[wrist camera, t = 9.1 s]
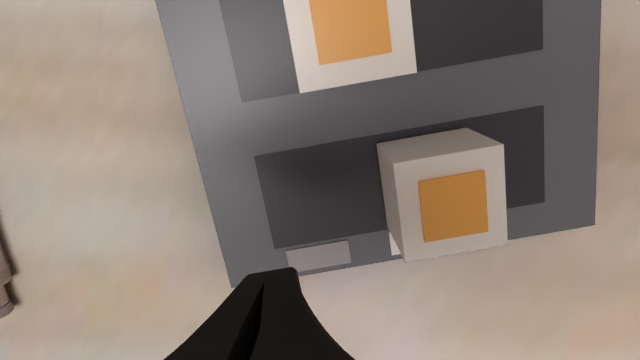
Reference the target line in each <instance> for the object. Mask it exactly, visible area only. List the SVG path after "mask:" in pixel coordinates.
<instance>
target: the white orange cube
mask: <svg viewBox="0 0 640 360" xmlns="http://www.w3.org/2000/svg"><path fill="white" fill-rule="evenodd" d="M283 3H284V8H285V14H286V19H287V25H288V30H289V36H290V41H291V47H292V53H293V58H294V64H295V69H296V75H297V80H298V86H299V91H300V93H305V92H311V91H316V90H322V89H328V88H333V87H339V86H345V85H350V84H356V83H362V82H367V81H373V80H379V79H384V78H390V77H395V76H401V75H407V74H412V73H417V67H416V57H415V46H414V36H413V26H412V16H411V6H410V0H283Z"/></svg>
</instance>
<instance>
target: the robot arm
mask: <svg viewBox="0 0 640 360" xmlns="http://www.w3.org/2000/svg"><path fill="white" fill-rule="evenodd" d="M164 360H355V359H354V358H353V357H351V356H350V355H349V354H348V353H347V352H346V351H344V350H343V349H342V348H341V347H340V346H339V344H338V343H337V342H336V341H335V340H334V339H333V338H332V337H331V336H330V335H329V334H328V332H327V331H326V330H325V329H324V328H323V326H322V325H321V324H320V322H319V321H318V319H317V318H316V316H315V315H314V314H313V312H312V310H311V309H310V307H309V306H308V304H307V302H306V300H305V298H304V296H303V294H302V292H301V288H300V283H299V278H298V273H297V270H296V269H295V268H293V267H287V268H282V269H276V270H270V271H264V272H258V273H252V274H248V275H247V276H246V277H245V278H244V279H243V280H242V281H241V282H240V283H239V285H238V286H237V287H236V288H235V289H234V290H233V292H232V293H231V294H230V295H229V296H228V297H227V298H226V300H225V301H224V302H223V303H222V304H221V305H220V306H219V307H218V308H217V310H216V311H215V312H214V313H213V314H212V315H211V316H210V317H209V318H208V319H207V320H206V321H205V322H204V323H203V324H202V325H201V326H200V327H199V328H198V329H197V330H196V331H195V332H194V333H193V334H192V335H191V336H190V337H189V338H188V339H187V340H186V341H185V342H184V343H183V344H182V345H180V346H179V347H178V348H177V349H176V350H175V351H174V352H172V353H171V354H170V355H169V356H167V357H166V358H165V359H164Z"/></svg>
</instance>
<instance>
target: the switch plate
mask: <svg viewBox="0 0 640 360" xmlns="http://www.w3.org/2000/svg"><path fill="white" fill-rule="evenodd" d="M155 2H156V6H157V9H158V13H159V17H160V21H161V24H162V28H163V32H164V36H165V39H166V43H167V47H168V51H169V54H170V58H171V62H172V66H173V69H174V73H175V77H176V81H177V85H178V88H179V92H180V96H181V100H182V103H183V107H184V111H185V115H186V118H187V122H188V126H189V130H190V133H191V137H192V141H193V145H194V149H195V152H196V156H197V160H198V164H199V167H200V171H201V175H202V179H203V182H204V186H205V190H206V194H207V197H208V201H209V205H210V209H211V212H212V216H213V220H214V224H215V228H216V231H217V235H218V239H219V243H220V246H221V250H222V254H223V258H224V261H225V265H226V269H227V273H228V276H229V280H230V284H231V288H234V287H237V286H238V285H239V283H240V282H241V281H242V280H243V279H244V278H245V277H246V276H247V275H248V274H252V273H258V272H264V271H270V270H276V269H282V268H287V267H293V268H295V269H296V270H297V273H298V276H303V275H309V274H315V273H321V272H326V271H332V270H338V269H344V268H349V267H355V266H361V265H367V264H373V263H378V262H384V261H390V260H396V259H401V258H403V257H402V255H401V253H400V251H399V249H398V247H397V245H396V243H395V241H394V239H393V237H392V235H391V233H390V231H389V229H388V227H387V220H386V212H385V205H384V197H383V190H382V182H381V175H380V167H379V159H378V152H377V144H376V143H382V142H388V141H393V140H399V139H405V138H410V137H416V136H422V135H427V134H433V133H439V132H444V131H450V130H456V129H461V128H469V129H471V130H473V131H475V132H478V133H480V134H482V135H484V136H486V137H489V138H491V139H493V140H495V141H498V142H500V143H502V144H504V162H505V187H506V212H507V237H508V240H511V239H517V238H523V237H528V236H534V235H540V234H546V233H551V232H557V231H563V230H569V229H574V228H580V227H586V226H592V225H595V200H596V164H597V129H598V94H599V58H600V23H601V0H410V6H411V16H412V26H413V36H414V46H415V57H416V67H417V73H412V74H407V75H401V76H395V77H390V78H384V79H379V80H373V81H367V82H362V83H356V84H350V85H345V86H339V87H333V88H328V89H322V90H316V91H311V92H305V93H300V91H299V86H298V80H297V75H296V69H295V64H294V58H293V53H292V47H291V41H290V36H289V30H288V25H287V19H286V14H285V8H284V3H283V0H155Z"/></svg>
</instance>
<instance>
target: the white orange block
mask: <svg viewBox="0 0 640 360" xmlns="http://www.w3.org/2000/svg"><path fill="white" fill-rule="evenodd" d="M376 144H377V152H378V159H379V167H380V175H381V182H382V190H383V197H384V205H385V212H386V220H387V227H388V229H389V231H390V233H391V235H392V237H393V239H394V241H395V243H396V245H397V247H398V249H399V251H400V253H401V255H402V257H403V259H404V261H405V262H411V261H417V260H422V259H428V258H434V257H440V256H446V255H451V254H457V253H463V252H469V251H474V250H480V249H486V248H492V247H498V246H503V245H508V237H507V212H506V187H505V162H504V144H502V143H500V142H498V141H495V140H493V139H491V138H489V137H486V136H484V135H482V134H480V133H478V132H475V131H473V130H471V129H469V128H461V129H456V130H450V131H444V132H439V133H433V134H427V135H422V136H416V137H410V138H405V139H399V140H393V141H388V142H382V143H376Z"/></svg>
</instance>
